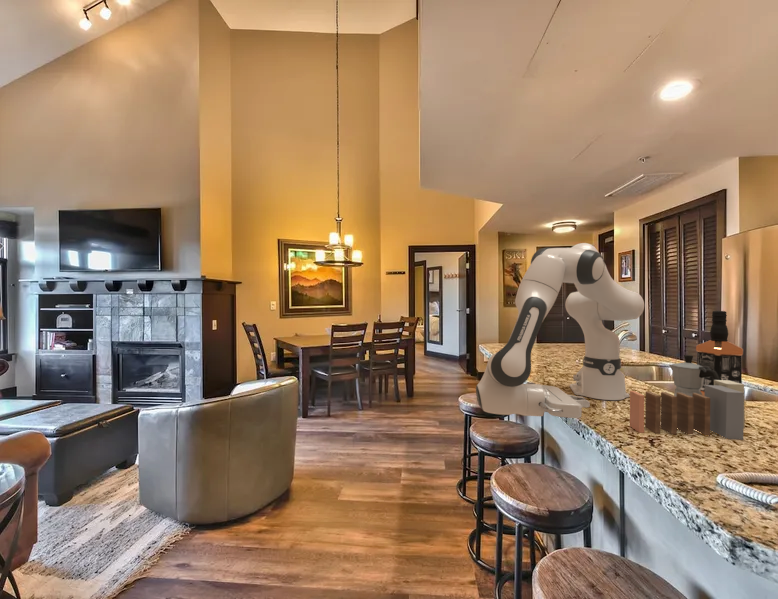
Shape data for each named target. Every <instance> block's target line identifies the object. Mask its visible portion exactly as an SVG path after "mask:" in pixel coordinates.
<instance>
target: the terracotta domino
mask: <svg viewBox="0 0 778 599" xmlns="http://www.w3.org/2000/svg"><path fill="white" fill-rule="evenodd" d="M629 396H630V397H629V427H630V428H631V427H632V429H635V430H634V431H636V432H637V433H641V434H645V395H644V394H642V393H639V392H637V391H636V390H630V391H629Z"/></svg>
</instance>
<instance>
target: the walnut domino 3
mask: <svg viewBox="0 0 778 599" xmlns="http://www.w3.org/2000/svg"><path fill="white" fill-rule="evenodd" d="M693 406H694V397H691V396H689V395H686V394H683V393H677V428H678V429H679V430H678V429H677V430H678V431H680V430H681V431H680V432H682V431H683V432H685V433H687V434H693V435H694V430H693ZM683 432H682V433H683ZM685 433H684V434H685ZM687 434H686V435H687Z"/></svg>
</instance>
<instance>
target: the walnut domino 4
mask: <svg viewBox="0 0 778 599" xmlns="http://www.w3.org/2000/svg"><path fill="white" fill-rule="evenodd" d="M692 397H694V406H693V429H695V430H697V431H699V432H701V433H702V434H704V435H709V436H708V437H710V436H711V431H710V398H709V397H706V396H703V395H701V394H698V393H693V394H692ZM702 434H701V435H702ZM704 435H703V436H704Z"/></svg>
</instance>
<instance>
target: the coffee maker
mask: <svg viewBox="0 0 778 599" xmlns="http://www.w3.org/2000/svg"><path fill="white" fill-rule="evenodd" d="M683 357H684V362H678V363H673V364H668V366H669V367H670V369H671V370H672V377H673V384H674V386H675V389H674V394H673V395H674V396H676V397H677V393H683V394H686V395H689V396H691V397H692V394H693V393H698V394H701V395H702V393H701V391H700V388H702V387H703V381H704V377H710V376H712V377H713V379H712V380H711V382H710V383H709V384H708V385H714V380H719V379H720V378H719V376H718V374H717V372H716V371H714V370H711V369H710V368H709V367H703V366H700V365H697V363H694V362H693V360H694V359H693V358H694V355H692V354H683ZM703 391H704V392H705V389H704V390H703Z"/></svg>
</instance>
